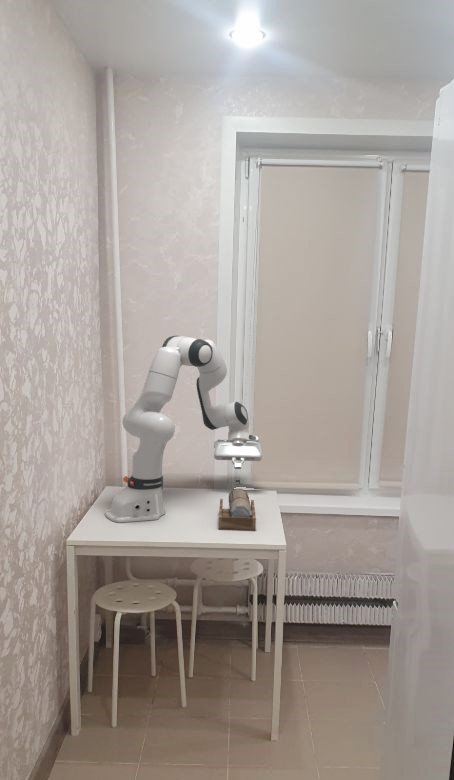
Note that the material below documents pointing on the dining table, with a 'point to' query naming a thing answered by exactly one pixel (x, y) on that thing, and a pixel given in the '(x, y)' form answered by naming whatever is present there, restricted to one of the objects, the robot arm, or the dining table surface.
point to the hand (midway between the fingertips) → (237, 468)
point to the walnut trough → (236, 520)
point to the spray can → (239, 503)
